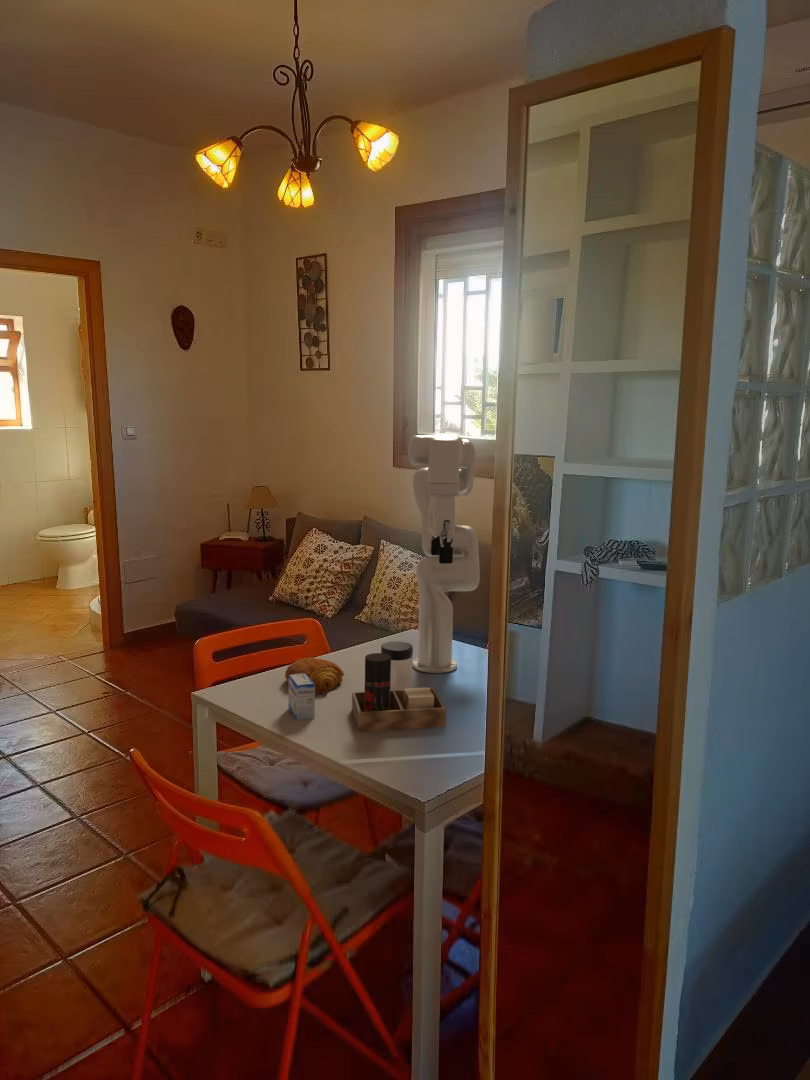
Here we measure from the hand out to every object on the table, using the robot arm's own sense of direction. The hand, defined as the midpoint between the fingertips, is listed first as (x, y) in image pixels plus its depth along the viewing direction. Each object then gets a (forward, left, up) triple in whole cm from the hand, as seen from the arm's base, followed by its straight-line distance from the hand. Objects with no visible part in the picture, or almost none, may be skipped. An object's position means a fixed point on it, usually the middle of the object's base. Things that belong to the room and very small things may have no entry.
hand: (441, 559), depth 194 cm
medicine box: (+5, -35, -36) cm, 50 cm away
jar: (-7, -10, -36) cm, 38 cm away
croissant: (-15, -30, -36) cm, 49 cm away
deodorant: (+12, -17, -36) cm, 41 cm away
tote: (+12, -13, -36) cm, 40 cm away
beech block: (+12, -8, -35) cm, 38 cm away
